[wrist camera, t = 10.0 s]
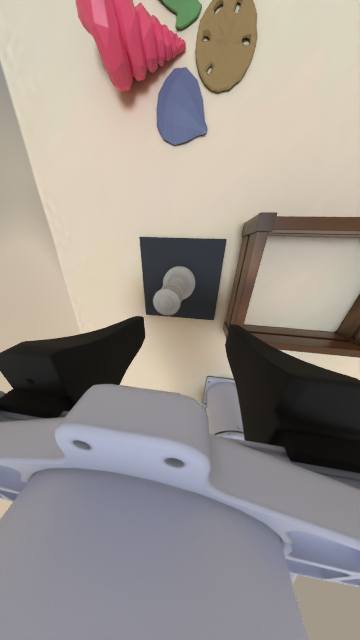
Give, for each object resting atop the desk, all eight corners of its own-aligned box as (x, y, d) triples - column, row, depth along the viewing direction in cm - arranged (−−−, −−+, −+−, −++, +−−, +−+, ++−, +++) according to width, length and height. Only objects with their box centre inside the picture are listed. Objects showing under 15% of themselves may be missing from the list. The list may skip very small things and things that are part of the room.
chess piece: (177, 302, 21) (160, 339, 12) (158, 278, 20) (125, 299, 11) (201, 286, 19) (203, 314, 11) (183, 258, 18) (168, 264, 9)
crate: (340, 339, 21) (377, 362, 16) (223, 329, 22) (228, 347, 18) (416, 225, 14) (508, 213, 10) (244, 223, 16) (260, 212, 12)
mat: (213, 319, 22) (213, 320, 21) (146, 313, 23) (146, 314, 23) (225, 239, 17) (226, 239, 17) (140, 237, 18) (139, 237, 18)
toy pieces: (151, 178, 15) (135, 152, 11) (83, 21, 12) (24, -99, 8) (266, 86, 12) (300, 3, 8) (223, -186, 8) (247, -611, 4)
